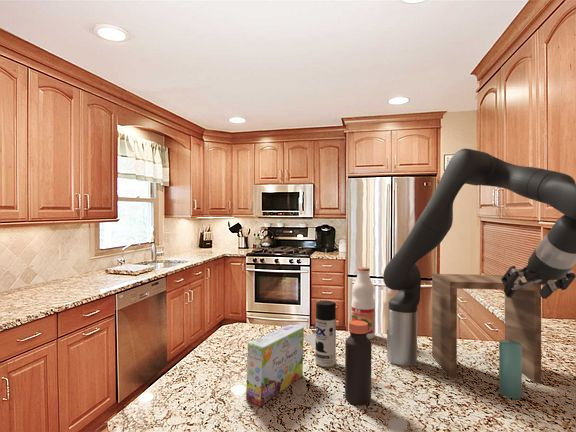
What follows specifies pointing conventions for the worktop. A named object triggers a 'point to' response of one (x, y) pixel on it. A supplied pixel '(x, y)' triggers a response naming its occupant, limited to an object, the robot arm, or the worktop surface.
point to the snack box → (274, 363)
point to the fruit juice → (364, 300)
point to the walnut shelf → (518, 319)
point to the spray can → (325, 333)
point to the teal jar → (510, 369)
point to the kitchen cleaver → (311, 337)
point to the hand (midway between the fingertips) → (524, 295)
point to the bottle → (358, 364)
